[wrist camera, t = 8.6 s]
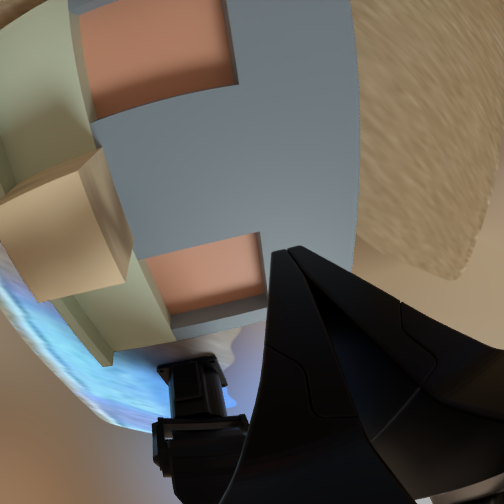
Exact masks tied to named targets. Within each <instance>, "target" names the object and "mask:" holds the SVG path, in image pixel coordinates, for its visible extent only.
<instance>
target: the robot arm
mask: <svg viewBox="0 0 504 504" xmlns="http://www.w3.org/2000/svg"><path fill="white" fill-rule="evenodd" d="M157 372H158V373H159V375H160V376H161V377H162V379H163V380H164V381H165V383H166V384H167V385H168V386H169V398H170V411H171V418H163V417H158V422H155V423H152V434H153V435H152V436H153V461H154V463H155V464H156V465H158V466H159V467H160V470H161V471H162V472H163V477H172V484H173V489H174V494H175V495H176V496H177V498H178V499H179V500H180V501H181V502H182V503H183V504H417V503H416V502H415V500H417V499H422V498H426V497H430V499H431V501H432V503H433V504H504V350H501V349H496V348H493V347H490V346H488V345H485V344H483V343H481V342H479V341H477V340H475V339H473V338H471V337H469V336H467V335H464V334H462V333H460V332H458V331H456V330H454V329H452V328H450V327H448V326H446V325H444V324H442V323H440V322H438V321H436V320H434V319H432V318H430V317H428V316H426V315H425V314H423V313H421V312H419V311H417V310H416V309H414V308H412V307H410V306H409V305H407V304H405V303H404V302H401V303H400V300H398V299H396V298H395V297H393V296H391V295H390V294H388V293H386V292H384V291H383V290H381V289H379V288H377V287H376V286H374V285H372V284H370V283H368V282H367V281H365V280H363V279H361V278H360V277H358V276H356V275H354V274H353V273H351V272H349V271H347V270H345V269H344V268H342V267H340V266H338V265H336V264H335V263H333V262H331V261H329V260H327V259H326V258H324V257H322V256H320V255H318V254H316V253H315V252H313V251H311V250H309V249H307V248H305V247H303V246H301V245H298V246H294V247H290V248H287V250H286V249H281V250H277V251H273V252H272V253H271V261H270V276H269V290H268V303H267V316H266V329H265V341H264V352H263V363H262V370H261V378H260V384H259V388H258V393H257V397H256V402H255V406H254V409H253V413H252V417H251V420H250V424H249V423H248V420H247V418H246V415H245V414H240V415H238V416H227V411H226V407H225V402H224V397H223V391H222V387H226V386H227V385H228V384H227V381H226V378H225V376H224V374H223V372H222V369H221V367H220V365H219V362H218V360H217V358H216V357H215V356H209V357H204V358H199V359H194V360H189V361H184V362H178V363H173V364H167V365H161V366H158V367H157ZM168 437H169V438H170V437H171V438H172V439H169V440H168V439H167V440H166V438H168Z"/></svg>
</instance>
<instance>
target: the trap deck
mask: <svg viewBox="0 0 504 504" xmlns="http://www.w3.org/2000/svg"><path fill="white" fill-rule="evenodd" d="M101 147H103V151H104V154H105V158H106V161H107V164H108V167H109V170H110V174H111V177H112V180H113V183H114V186H115V189H116V192H117V195H118V197H119V200H120V203H121V206H122V209H123V211H124V214H125V217H126V220H127V222H128V225H129V227H130V230H131V233H132V235H133V238H134V243H133V248H132V252H131V257H130V262H129V266H128V271H127V277H126V282H125V283H122V284H118V285H113V286H109V287H105V288H101V289H96V290H92V291H88V292H83V293H79V294H75V295H70V296H66V297H62V298H57V299H53V300H50V301H51V302H52V304H53V305H54V307H55V308H56V310H57V311H58V312H59V314H60V315H61V316H62V318H63V319H64V321H65V322H66V323H67V325H68V326H69V327H70V328H71V330H72V331H73V332H74V334H75V335H76V336H77V337H78V339H79V340H80V341H81V342H82V343H83V345H84V346H85V347H86V348H87V349H88V351H89V352H90V353H91V354H92V355H93V356H94V358H95V359H96V360H97V361H98V362H99V363H100V364H101V365H102V367H106V366H112V365H113V356H114V352H116V351H122V350H129V349H135V348H140V347H146V346H152V345H157V344H163V343H168V342H173V341H178V340H183V339H188V338H193V337H197V336H202V335H207V334H211V333H216V332H220V331H224V330H229V329H233V328H237V327H241V326H245V325H249V324H253V323H257V322H261V321H265V320H266V316H267V303H268V290H269V276H270V261H271V253H272V252H273V251H277V250H281V249H286V250H287V248H290V247H294V246H298V245H301V246H303V247H305V248H307V249H309V250H311V251H313V252H315V253H316V254H318V255H320V256H322V257H324V258H326V259H327V260H329V261H331V262H333V263H335V264H336V265H338V266H340V267H342V268H344V269H345V270H347V271H349V272H351V271H352V263H353V254H354V245H355V235H356V223H357V210H358V194H359V172H360V102H359V81H358V66H357V54H356V44H355V35H354V27H353V19H352V12H351V5H350V0H47V1H46V2H44V3H42V4H40V5H38V6H37V7H35V8H33V9H32V10H30V11H28V12H27V13H25V14H23V15H22V16H20V17H19V18H17V19H16V20H14V21H13V22H11V23H10V24H8V25H7V26H5V27H4V28H2V29H1V30H0V200H1V199H2V198H3V197H4V196H5V195H6V194H7V193H8V192H9V191H10V190H11V189H13V188H14V187H15V186H16V185H17V184H18V183H19V182H21V181H23V180H25V179H27V178H29V177H31V176H33V175H35V174H37V173H39V172H42V171H44V170H46V169H48V168H50V167H53V166H55V165H57V164H60V163H62V162H64V161H67V160H69V159H72V158H74V157H77V156H79V155H82V154H85V153H87V152H90V151H93V150H95V149H98V148H101Z"/></svg>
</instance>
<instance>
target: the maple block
mask: <svg viewBox="0 0 504 504" xmlns="http://www.w3.org/2000/svg"><path fill="white" fill-rule="evenodd" d="M0 241H1V243H2V244H3V246H4V248H5V250H6V252H7V254H8V255H9V257H10V259H11V261H12V262H13V264H14V266H15V268H16V269H17V271H18V273H19V274H20V276H21V277H22V279H23V281H24V282H25V284H26V285H27V287H28V288H29V290H30V291H31V293H32V294H33V296H34V297H35V299H36V300H37V302H38V303H40V302H45V301H49V300H53V299H57V298H62V297H66V296H70V295H75V294H79V293H83V292H88V291H92V290H96V289H101V288H105V287H109V286H113V285H118V284H122V283H125V282H126V277H127V271H128V266H129V262H130V257H131V252H132V248H133V243H134V238H133V235H132V233H131V230H130V227H129V225H128V222H127V220H126V217H125V214H124V211H123V209H122V206H121V203H120V200H119V197H118V195H117V192H116V189H115V186H114V183H113V180H112V177H111V174H110V170H109V167H108V164H107V161H106V158H105V154H104V151H103V147H101V148H98V149H95V150H93V151H90V152H87V153H85V154H82V155H79V156H77V157H74V158H72V159H69V160H67V161H64V162H62V163H60V164H57V165H55V166H53V167H50V168H48V169H46V170H44V171H42V172H39V173H37V174H35V175H33V176H31V177H29V178H27V179H25V180H23V181H21V182H19V183H18V184H17V185H16V186H15V187H14V188H13V189H11V190H10V191H9V192H8V193H7V194H6V195H5V196H4V197H3V198H2V199H1V200H0Z"/></svg>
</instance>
